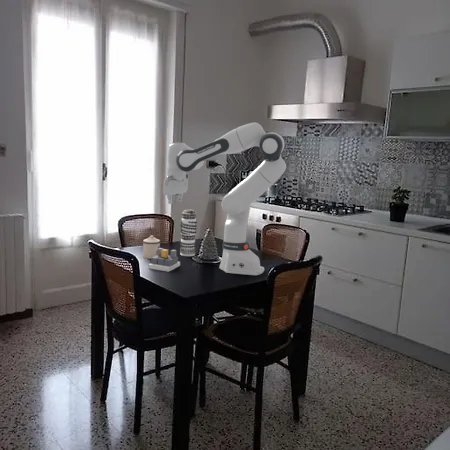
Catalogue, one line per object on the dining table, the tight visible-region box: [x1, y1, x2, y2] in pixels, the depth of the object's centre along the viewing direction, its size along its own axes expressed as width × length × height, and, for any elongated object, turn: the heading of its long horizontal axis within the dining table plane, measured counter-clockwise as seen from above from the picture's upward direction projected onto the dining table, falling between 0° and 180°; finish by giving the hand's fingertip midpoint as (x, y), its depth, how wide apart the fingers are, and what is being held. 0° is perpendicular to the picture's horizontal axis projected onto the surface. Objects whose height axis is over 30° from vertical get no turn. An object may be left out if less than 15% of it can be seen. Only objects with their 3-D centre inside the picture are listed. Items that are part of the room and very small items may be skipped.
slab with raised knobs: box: [148, 247, 181, 272], centre depth 217 cm, size 11×12×8 cm
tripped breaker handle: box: [161, 248, 169, 258], centre depth 217 cm, size 2×2×4 cm
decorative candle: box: [179, 208, 198, 257], centre depth 243 cm, size 9×9×25 cm
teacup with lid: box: [142, 235, 161, 260], centre depth 236 cm, size 12×9×12 cm
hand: (175, 202), depth 222 cm, fingers open, 8 cm apart
